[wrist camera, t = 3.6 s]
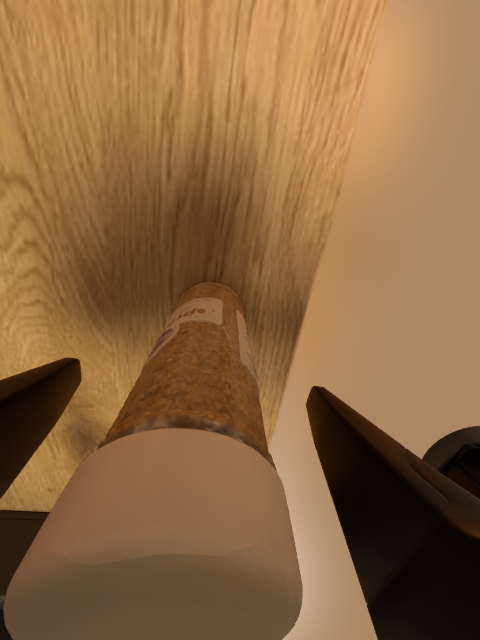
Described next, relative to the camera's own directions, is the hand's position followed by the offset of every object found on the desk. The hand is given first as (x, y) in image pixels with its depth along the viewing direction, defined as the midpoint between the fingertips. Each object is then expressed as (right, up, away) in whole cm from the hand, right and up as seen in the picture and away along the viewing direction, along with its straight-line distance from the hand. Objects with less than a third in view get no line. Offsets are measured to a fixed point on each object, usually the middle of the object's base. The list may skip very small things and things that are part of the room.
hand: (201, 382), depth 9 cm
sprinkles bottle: (0, +3, +7) cm, 8 cm away
